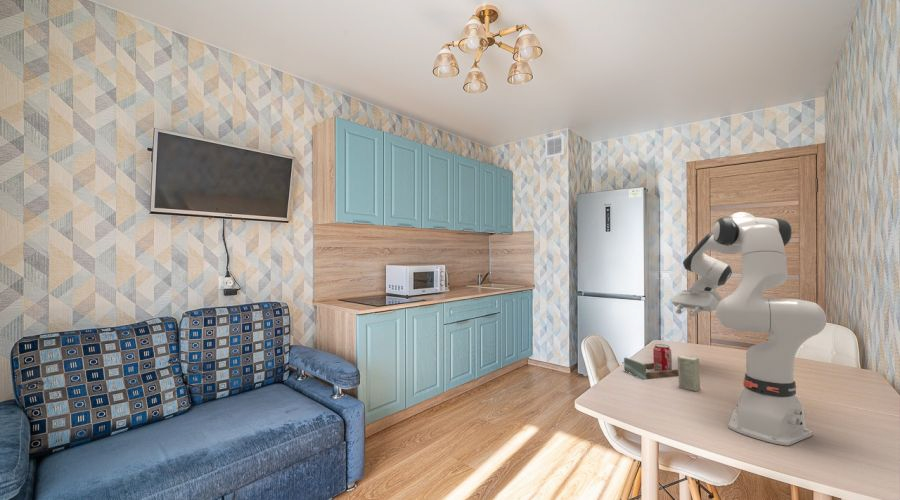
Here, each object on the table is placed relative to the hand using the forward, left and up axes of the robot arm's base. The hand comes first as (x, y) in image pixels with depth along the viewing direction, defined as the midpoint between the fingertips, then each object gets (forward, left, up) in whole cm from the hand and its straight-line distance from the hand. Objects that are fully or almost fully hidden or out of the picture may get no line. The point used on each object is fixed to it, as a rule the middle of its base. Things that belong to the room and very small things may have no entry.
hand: (684, 314), depth 168 cm
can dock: (-17, +7, -25) cm, 32 cm away
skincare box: (-24, -11, -26) cm, 37 cm away
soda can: (-12, +5, -26) cm, 29 cm away
